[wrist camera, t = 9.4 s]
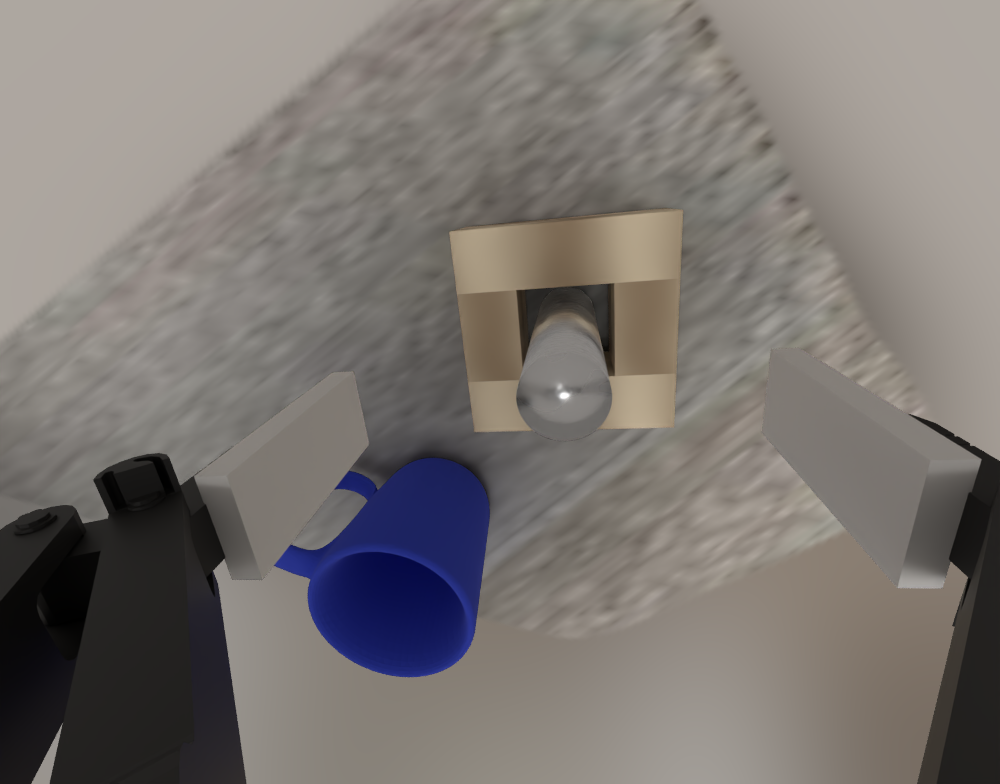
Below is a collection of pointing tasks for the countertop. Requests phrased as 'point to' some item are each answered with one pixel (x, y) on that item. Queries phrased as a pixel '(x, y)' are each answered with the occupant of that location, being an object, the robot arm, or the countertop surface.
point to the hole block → (573, 262)
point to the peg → (565, 370)
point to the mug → (402, 570)
